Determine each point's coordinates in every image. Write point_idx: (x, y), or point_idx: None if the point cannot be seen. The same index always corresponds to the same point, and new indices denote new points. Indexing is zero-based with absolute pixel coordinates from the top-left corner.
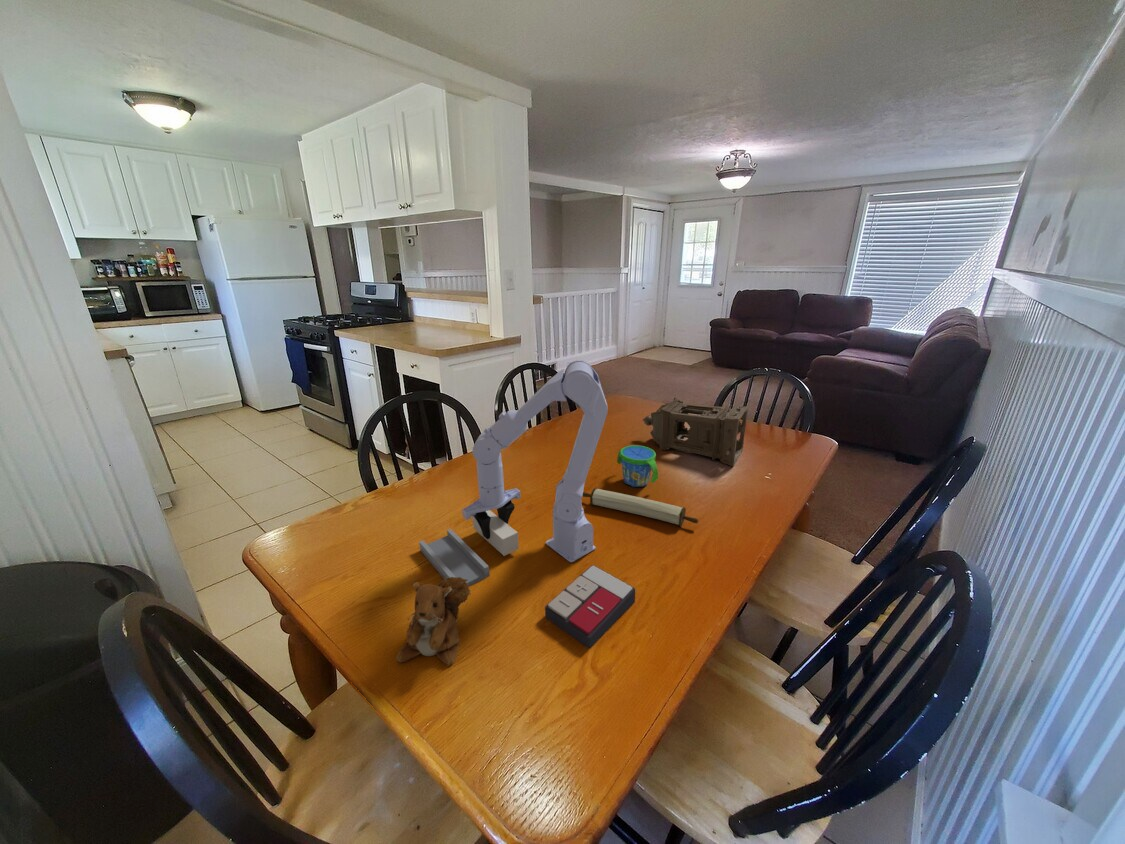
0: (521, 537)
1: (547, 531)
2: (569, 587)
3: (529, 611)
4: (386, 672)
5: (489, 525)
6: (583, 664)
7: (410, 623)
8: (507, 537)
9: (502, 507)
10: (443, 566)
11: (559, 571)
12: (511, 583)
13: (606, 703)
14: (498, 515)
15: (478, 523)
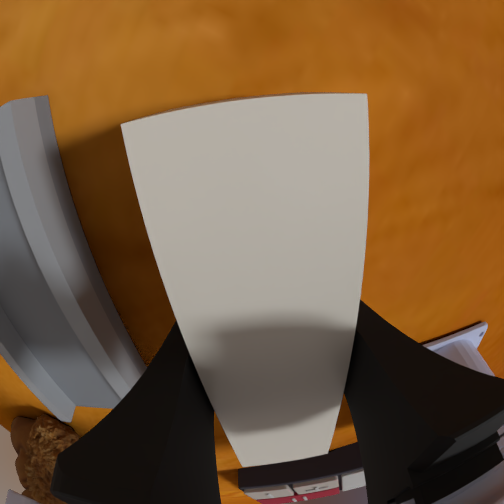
0: (381, 285)
1: (460, 293)
2: (300, 488)
3: (218, 462)
4: (8, 423)
5: (213, 449)
6: (242, 491)
7: (18, 475)
8: (268, 463)
9: (383, 486)
10: (13, 363)
11: (340, 425)
12: (215, 427)
13: (237, 500)
14: (362, 346)
15: (142, 379)
